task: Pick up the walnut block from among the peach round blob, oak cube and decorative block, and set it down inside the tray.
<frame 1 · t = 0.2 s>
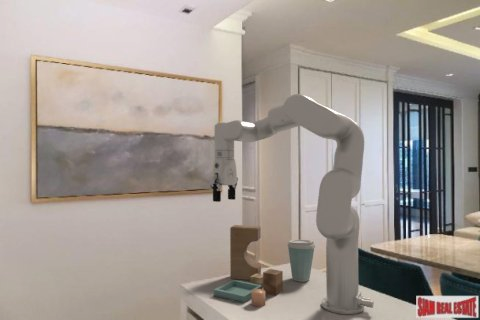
hand: (224, 200, 132), 31 cm above the table, tool pointing down, fingers open, 9 cm apart
oak cube: (258, 286, 125), on the table
peach round blob: (258, 304, 109), on the table
walnut block: (273, 292, 120), on the table
disposable coffee cup: (301, 279, 133), on the table
tray: (238, 294, 118), on the table
decorative block: (245, 278, 135), on the table
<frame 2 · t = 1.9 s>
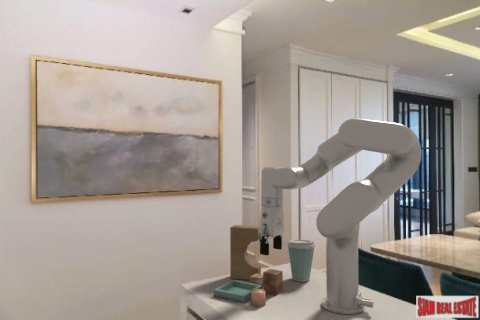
hand: (271, 251, 121), 14 cm above the table, tool pointing down, fingers open, 9 cm apart
nothing on the table moved.
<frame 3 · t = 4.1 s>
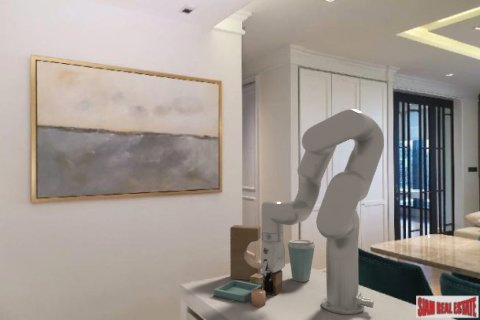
hand: (272, 289, 120), 1 cm above the table, tool pointing down, fingers closed on walnut block, 5 cm apart
walnut block: (272, 291, 120), on the table, touching gripper
everything else where it was.
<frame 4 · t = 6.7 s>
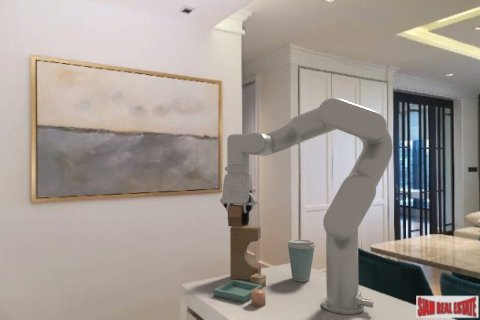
hand: (238, 223, 119), 24 cm above the table, tool pointing down, fingers closed on walnut block, 5 cm apart
walnut block: (238, 225, 119), point 23 cm above the table, touching gripper
everything else where it was.
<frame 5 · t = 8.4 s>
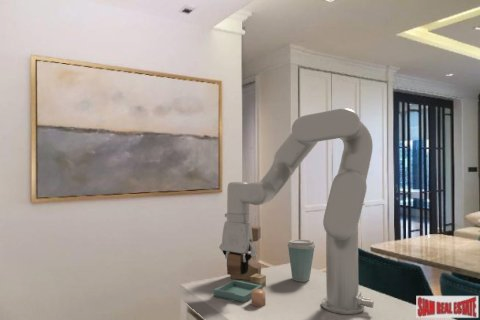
hand: (237, 270, 118), 8 cm above the table, tool pointing down, fingers closed on walnut block, 5 cm apart
walnut block: (237, 273, 118), point 7 cm above the table, touching gripper
everything else where it was.
when the fingers open (4 cm above the table, at t = 9.7 s): walnut block drops 2 cm, resting on tray.
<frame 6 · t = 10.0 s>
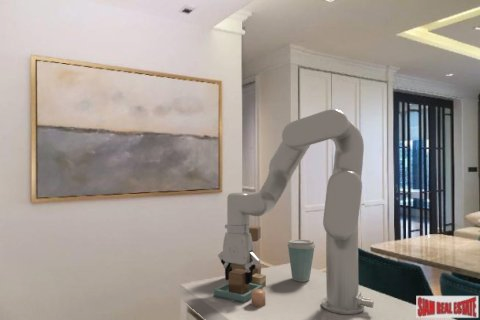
hand: (238, 280, 118), 4 cm above the table, tool pointing down, fingers open, 7 cm apart
walnut block: (238, 292, 118), point 1 cm above the table, touching tray
everything else where it was.
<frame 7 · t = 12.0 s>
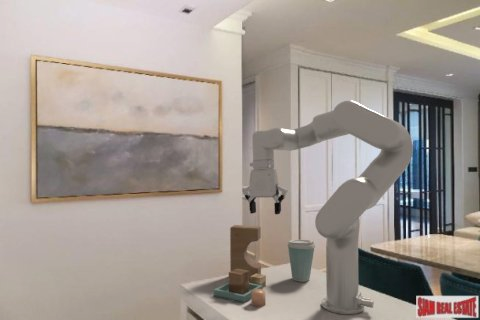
hand: (265, 213, 123), 27 cm above the table, tool pointing down, fingers open, 9 cm apart
nothing on the table moved.
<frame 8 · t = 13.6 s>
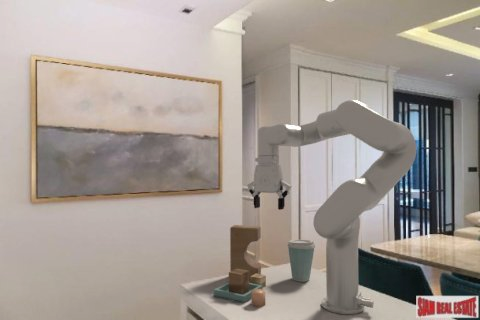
hand: (268, 208, 125), 28 cm above the table, tool pointing down, fingers open, 9 cm apart
nothing on the table moved.
at the end: walnut block inside the target area on the tray (0.1 cm from its centre), point 0.6 cm above the tray's base; walnut block tilted 0°; the gripper is holding nothing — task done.
